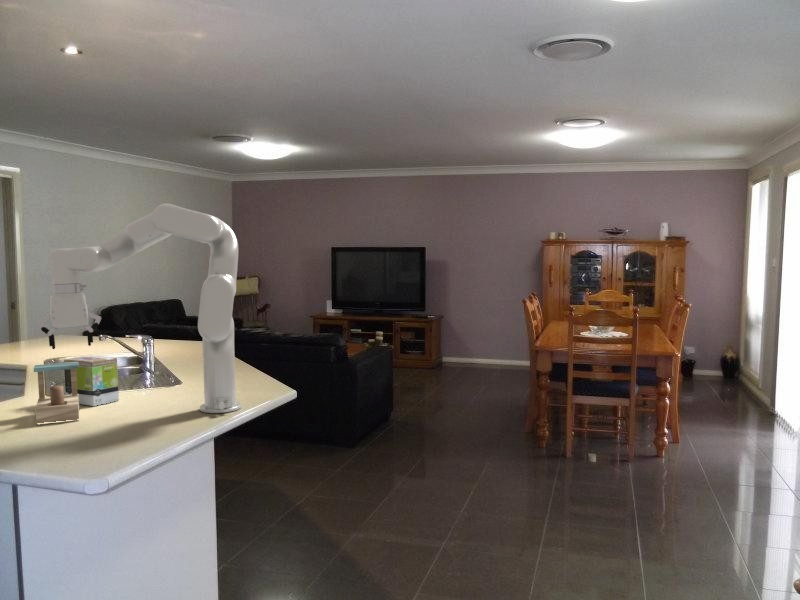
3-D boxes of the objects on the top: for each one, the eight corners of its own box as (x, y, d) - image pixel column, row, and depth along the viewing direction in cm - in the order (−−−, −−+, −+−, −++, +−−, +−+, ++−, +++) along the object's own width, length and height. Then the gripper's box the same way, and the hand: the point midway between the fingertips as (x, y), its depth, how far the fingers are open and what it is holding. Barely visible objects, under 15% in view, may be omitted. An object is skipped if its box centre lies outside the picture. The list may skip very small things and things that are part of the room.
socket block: (80, 420, 196) (77, 369, 195) (34, 425, 191) (31, 373, 189) (80, 409, 210) (78, 361, 209) (37, 413, 205) (34, 365, 204)
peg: (65, 418, 199) (63, 385, 198) (65, 420, 196) (63, 387, 195) (52, 419, 198) (50, 386, 197) (51, 422, 194) (49, 388, 194)
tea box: (120, 400, 221) (118, 357, 220) (93, 407, 213) (90, 361, 211) (92, 396, 229) (89, 354, 228) (64, 402, 220) (62, 358, 219)
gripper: (98, 287, 204) (102, 342, 206) (34, 291, 197) (39, 348, 198) (99, 288, 198) (103, 345, 199) (33, 292, 190) (38, 351, 191)
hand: (71, 346), depth 198 cm, fingers open, 9 cm apart
